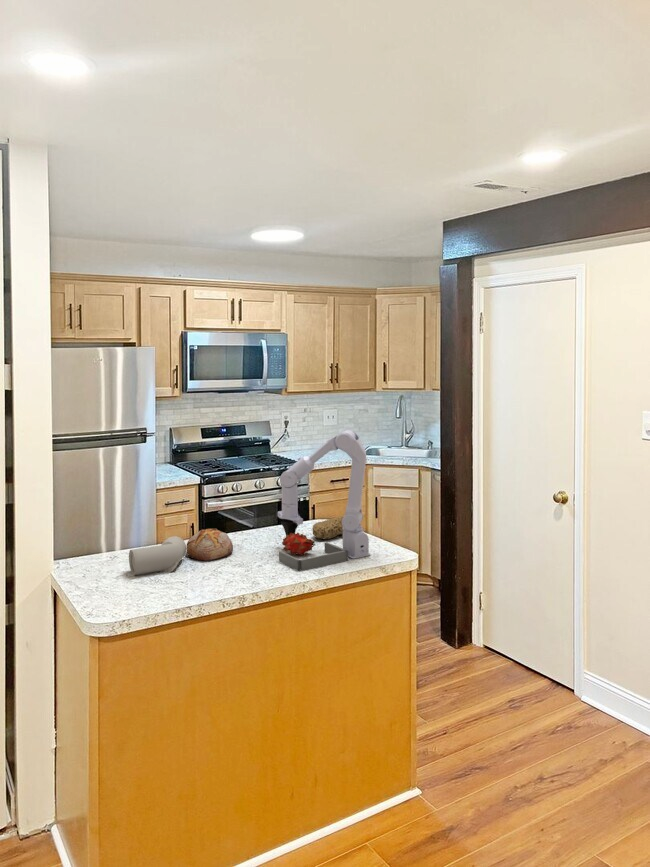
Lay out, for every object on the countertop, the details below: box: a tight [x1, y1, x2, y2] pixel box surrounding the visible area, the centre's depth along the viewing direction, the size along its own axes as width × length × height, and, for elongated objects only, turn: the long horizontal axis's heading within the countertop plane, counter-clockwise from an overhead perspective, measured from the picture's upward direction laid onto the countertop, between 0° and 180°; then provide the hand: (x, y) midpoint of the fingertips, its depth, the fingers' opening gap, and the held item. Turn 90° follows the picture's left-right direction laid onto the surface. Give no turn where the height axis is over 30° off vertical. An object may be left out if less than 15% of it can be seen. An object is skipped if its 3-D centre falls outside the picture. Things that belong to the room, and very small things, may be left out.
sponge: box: [312, 516, 344, 540], centre depth 273 cm, size 13×8×20 cm
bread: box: [186, 528, 234, 562], centre depth 251 cm, size 16×20×10 cm
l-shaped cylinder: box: [128, 535, 187, 576], centre depth 235 cm, size 18×11×20 cm
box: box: [278, 541, 349, 572], centre depth 242 cm, size 13×20×4 cm, turn 124°
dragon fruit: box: [281, 532, 316, 556], centre depth 249 cm, size 8×8×12 cm
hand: (290, 539), depth 254 cm, fingers closed
